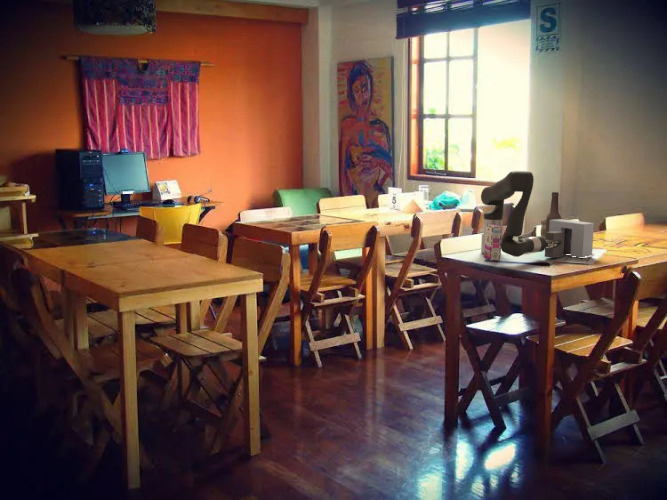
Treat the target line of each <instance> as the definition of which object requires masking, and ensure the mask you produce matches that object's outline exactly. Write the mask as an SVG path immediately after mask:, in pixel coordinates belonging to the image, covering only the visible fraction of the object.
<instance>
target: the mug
mask: <svg viewBox="0 0 667 500" xmlns="http://www.w3.org/2000/svg"><path fill="white" fill-rule="evenodd" d="M540 222H541V223H540V225H541V227H540V236H541V237H543V238H544V239H545V235H546V219H541V220H540Z"/></svg>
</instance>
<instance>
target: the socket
mask: <svg viewBox="0 0 667 500" xmlns="http://www.w3.org/2000/svg"><path fill="white" fill-rule="evenodd" d="M594 228H595V223H594V222H588V221H580V220H579V221H578V220H571V219H562V218H561V219H555V220H550V224H549V232H552V231H559V232H564V237H563V254H571V256H576V257H585V256H589V255H592V256H593V246H594V245H593V244H594V233H595V232H594V231H595V230H594Z"/></svg>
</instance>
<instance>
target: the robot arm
mask: <svg viewBox="0 0 667 500" xmlns="http://www.w3.org/2000/svg"><path fill="white" fill-rule="evenodd" d="M534 182H535V181H534V175H533V172H531V171H529V170H527V171H526V170H525V171H524V170H512V171H509V173H508V174H507V175H506V176H505V177H503V178H501V179H500V180H499V181H496V183H493V184H492V185H489V186H486V187H484V188H483V189H482V190H481V194H480V201H481V202H482V204H483V205H484V206H494V208H492V209H491V210H490V211H486V212H484V214H483V225H482V227H483V229H482V233H481V245H480V247H481V248H480V253H482V254H484V252H485V232H486V224H495V225H498V226H500V227H502V229H501V247H500V254H501V252H503V253H505V254H507V255H510V256H512V257H515V258H516V257H517V258H519V257H521V256H523V255H525V254H535V253H541V252H545V248H548V247H553V248H556V247H559V245H561V240H558V241H553V240H546V239H544V238H543V237H541V235H538V236H532V237H529V238H524V239H520V240H515V239H514V237H517V238H518V237H519V236H522V234H523V229H524V222H525V216H526V212H527V208H528V206H529V205H528V204H529V202H530V198H531V195H532V192H533V186H534ZM518 192H519V193H520V192H521V193H522V194H521V197H520V199H519V200H518V203H517V204H516V205H515V206H514V208H512V210H511V211H510V213H509V215H508V217H507V225H506V231H505V233H504V236H503V235H502V234H503V233H502V232H503V216H504V204H505V200H508V199H509V198H511V197H513V196H514V195H515V193H518ZM502 236H503V237H502ZM550 241H551V242H550Z"/></svg>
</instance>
